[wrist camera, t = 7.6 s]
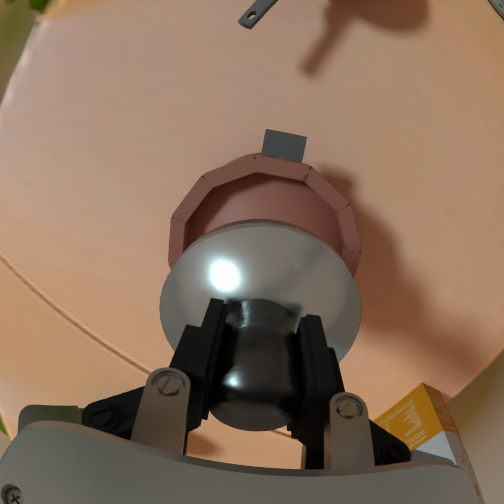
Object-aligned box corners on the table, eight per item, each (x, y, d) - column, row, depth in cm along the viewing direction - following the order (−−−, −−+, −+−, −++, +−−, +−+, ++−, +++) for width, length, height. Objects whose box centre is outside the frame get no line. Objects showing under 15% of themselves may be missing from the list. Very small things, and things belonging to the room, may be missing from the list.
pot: (352, 151, 23) (387, 157, 16) (310, 308, 30) (320, 360, 22) (209, 123, 23) (183, 116, 16) (190, 286, 30) (166, 334, 22)
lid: (379, 240, 12) (443, 311, 6) (322, 383, 15) (334, 465, 10) (172, 203, 11) (102, 255, 6) (168, 360, 15) (137, 439, 10)
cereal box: (347, 455, 43) (361, 581, 16) (325, 450, 42) (335, 587, 15) (439, 391, 35) (493, 534, 8) (421, 382, 34) (479, 545, 7)
